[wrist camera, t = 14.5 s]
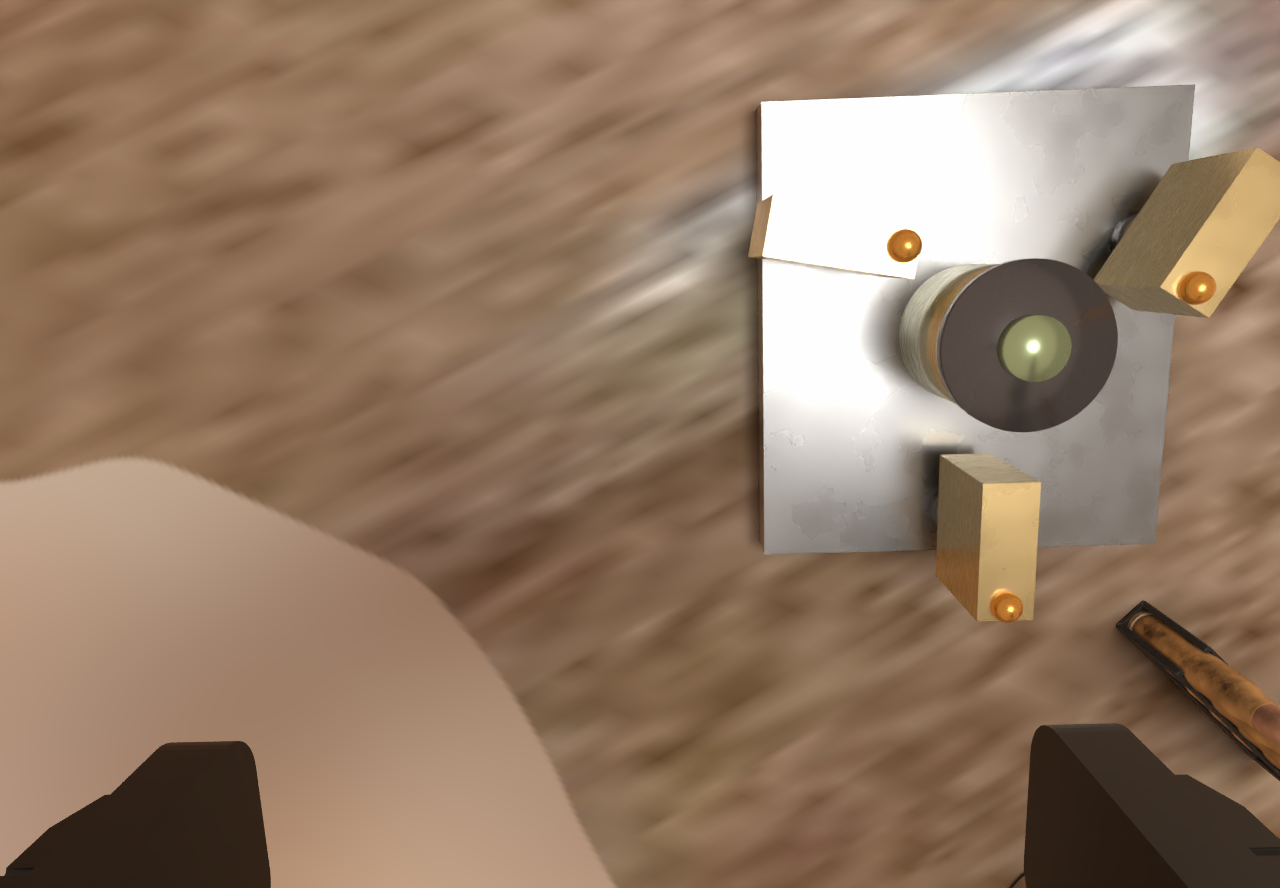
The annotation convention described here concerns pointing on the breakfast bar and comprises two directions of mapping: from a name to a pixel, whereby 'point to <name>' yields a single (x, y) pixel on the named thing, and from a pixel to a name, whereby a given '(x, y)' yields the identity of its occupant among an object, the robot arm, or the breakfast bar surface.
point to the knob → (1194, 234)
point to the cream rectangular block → (837, 237)
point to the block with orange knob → (987, 535)
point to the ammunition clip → (1209, 683)
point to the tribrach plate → (972, 213)
